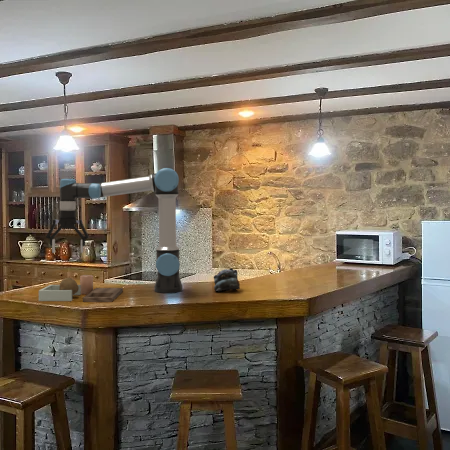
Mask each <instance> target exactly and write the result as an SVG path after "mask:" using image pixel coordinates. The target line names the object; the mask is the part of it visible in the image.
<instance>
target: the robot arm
mask: <svg viewBox="0 0 450 450" xmlns="http://www.w3.org/2000/svg"><path fill="white" fill-rule="evenodd" d="M179 182H180V179H179V175H178V173H177V171H176V170H174V169H173V168H170V167H163V168H161V169H159V170H157V172H155V173H151V174H150V175H147V176H141V177H133V178H126V179H119V180H113V181H107V182H97V183H95V182H92V183H89V182H88V183H87V182H85V183H84V182H83V183H81V182H77V180H76V179H75V178H61V179H60V181H59V219H53V220H52V225H51V226H50V228H49V230H48V232H47V234H46V237H45V238H46V239H49V246H50V247H51V251H52V252H51V253H52V254H54V253H56V239H55V237H56V236H57V235H58V234H59V233H60V232H61V231H62V229H70V230H72V229H73V231H74V232H76V234H77V235H78V237H80V238H81V239H80V254H83V253H84V247H85V246H86V239H89V238H90V236H89V233H88V231H87V230H86V227H85V226H84V224H83V223H84V222H83V220H82V219H78V220H77V218H76V217H77V215H76V214H77V213H76V209H77V208H76V207H77V203H76V201H77V200H76V199H92V200H93V199H95V200H97V199H101V198H105V197H106V198H107V197H111V196H113V197H114V196H120V195H126V194H133V193H134V194H135V193H143V192H148V191H152V192H153V193H155V196H156V197H157V198H158V247H156V249H155V250H156V252H155V255H156V257H155V258H156V259H155V269H156V270H157V278H156V280H155V283H154V287H153V289H154V292H156V293H163V294H164V293H165V294H169V293H171V294H173V293H174V294H175V293H179V292H182V291H183V284H182V281H181V278H180V266H181V263H180V247H178V246H177V220H176V219H177V217H176V215H177V214H176V213H177V211H176V208H177V206H176V202H177V201H176V199H177V197H178V196H179V193H180V192H179ZM58 224H59V225H60V226H59V227H58V228H57V229H56V230H55V231H54V229H55V227H56V226H57V225H58ZM76 224H78V225H79V227H80V229H81V230H82V232H81V231H80V230H79V229H78V227H77V226H76ZM53 232H54V233H53Z"/></svg>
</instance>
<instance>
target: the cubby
mask: <svg viewBox="0 0 450 450" xmlns="http://www.w3.org/2000/svg"><path fill="white" fill-rule="evenodd" d="M77 285H78V287H79V290H78V292H77V293H75V294H73V295H72V290H59V289H60V284H48V285H47V286H45V287H44V288H41V289H39V290H38V302H72V301H73V296H80V295H82V294H81V285H80V284H77Z"/></svg>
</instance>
